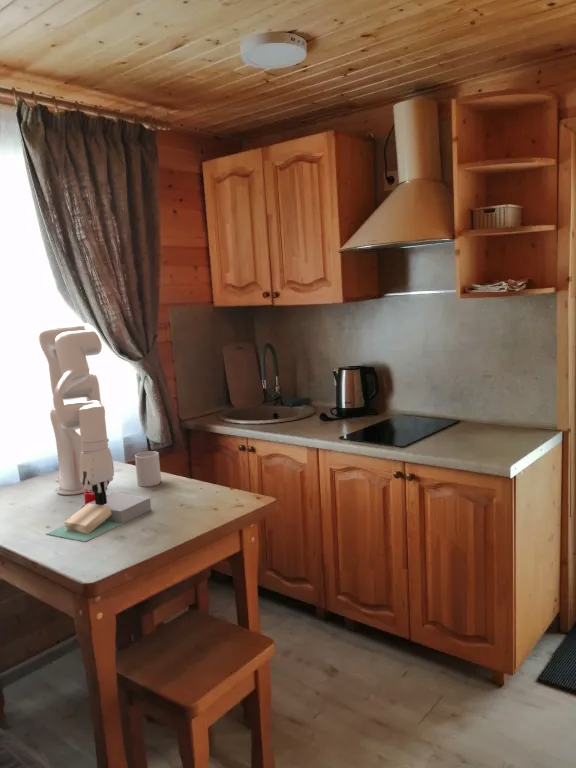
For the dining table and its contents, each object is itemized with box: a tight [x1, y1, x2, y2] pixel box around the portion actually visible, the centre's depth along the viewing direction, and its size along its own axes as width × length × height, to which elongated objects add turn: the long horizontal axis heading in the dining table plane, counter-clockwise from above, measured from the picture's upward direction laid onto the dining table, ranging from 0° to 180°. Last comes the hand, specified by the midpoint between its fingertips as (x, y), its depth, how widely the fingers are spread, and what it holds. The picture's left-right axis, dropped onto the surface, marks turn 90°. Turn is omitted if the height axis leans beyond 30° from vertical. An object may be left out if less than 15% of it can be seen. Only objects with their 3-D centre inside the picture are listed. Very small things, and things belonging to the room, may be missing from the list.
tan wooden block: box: [63, 503, 112, 534], centre depth 186 cm, size 9×10×3 cm
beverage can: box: [83, 484, 95, 505], centre depth 207 cm, size 6×6×12 cm
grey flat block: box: [82, 492, 152, 525], centre depth 197 cm, size 16×13×4 cm
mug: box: [134, 450, 162, 488], centre depth 229 cm, size 12×8×11 cm
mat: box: [45, 521, 122, 543], centre depth 185 cm, size 16×14×1 cm
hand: (101, 503), depth 191 cm, fingers closed
